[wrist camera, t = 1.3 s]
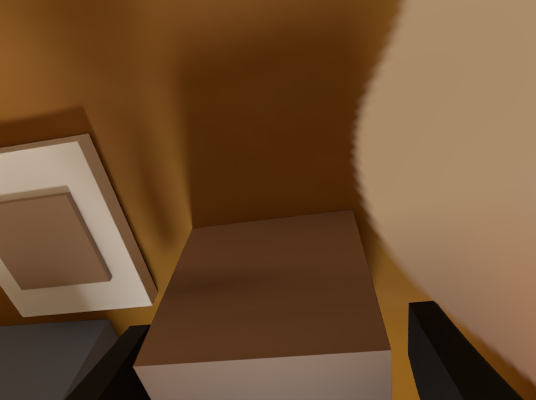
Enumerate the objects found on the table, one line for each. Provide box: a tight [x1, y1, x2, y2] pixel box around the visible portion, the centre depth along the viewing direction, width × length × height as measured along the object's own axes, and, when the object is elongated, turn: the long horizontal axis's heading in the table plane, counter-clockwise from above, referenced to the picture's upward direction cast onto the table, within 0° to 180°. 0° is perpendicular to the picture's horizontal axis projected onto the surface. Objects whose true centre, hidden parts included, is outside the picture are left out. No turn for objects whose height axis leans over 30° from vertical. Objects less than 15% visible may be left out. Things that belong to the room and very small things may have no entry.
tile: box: [0, 134, 158, 317], centre depth 12 cm, size 6×5×1 cm
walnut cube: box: [133, 209, 392, 400], centre depth 10 cm, size 5×5×5 cm
